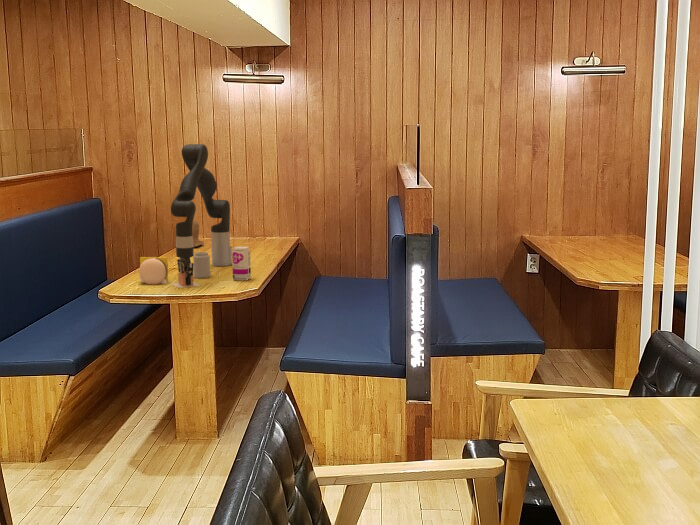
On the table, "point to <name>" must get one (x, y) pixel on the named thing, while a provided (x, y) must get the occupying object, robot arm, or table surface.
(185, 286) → the pad
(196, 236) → the brown boot
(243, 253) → the supplement can
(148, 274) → the hamburger
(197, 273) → the can
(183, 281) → the block
